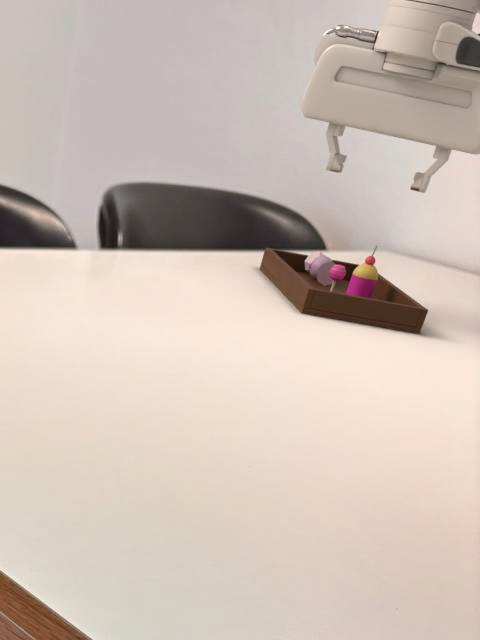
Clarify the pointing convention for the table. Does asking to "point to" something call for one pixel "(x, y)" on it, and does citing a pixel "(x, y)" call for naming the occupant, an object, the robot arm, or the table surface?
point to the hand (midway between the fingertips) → (375, 181)
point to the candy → (343, 274)
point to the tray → (341, 295)
